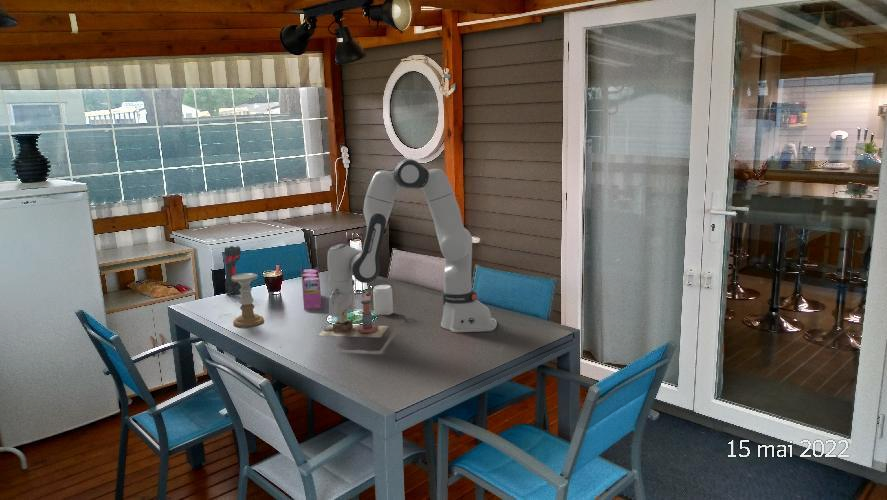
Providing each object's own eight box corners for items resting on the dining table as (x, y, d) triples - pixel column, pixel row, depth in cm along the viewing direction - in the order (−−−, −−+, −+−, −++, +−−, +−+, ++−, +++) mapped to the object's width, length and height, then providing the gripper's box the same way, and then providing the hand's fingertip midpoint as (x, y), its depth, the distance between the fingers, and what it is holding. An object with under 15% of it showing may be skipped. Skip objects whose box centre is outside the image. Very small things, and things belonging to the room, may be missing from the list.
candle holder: (269, 322, 269) (265, 275, 264) (243, 329, 260) (238, 281, 256) (254, 316, 277) (249, 270, 273) (227, 323, 268) (222, 276, 264)
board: (389, 328, 256) (388, 325, 255) (380, 340, 243) (380, 336, 243) (328, 327, 260) (328, 323, 259) (317, 338, 247) (317, 334, 247)
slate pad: (336, 327, 255) (336, 327, 255) (332, 331, 251) (332, 330, 251) (325, 327, 256) (325, 326, 256) (321, 331, 252) (321, 330, 251)
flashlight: (248, 292, 315) (243, 246, 310) (235, 296, 309) (230, 249, 304) (237, 290, 319) (232, 245, 314) (224, 294, 313) (219, 248, 308)
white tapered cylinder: (390, 317, 271) (388, 289, 268) (371, 316, 272) (370, 289, 270) (395, 311, 278) (394, 284, 276) (377, 310, 280) (376, 284, 277)
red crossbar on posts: (377, 332, 247) (375, 303, 245) (356, 333, 247) (354, 304, 244) (379, 320, 262) (378, 292, 259) (359, 321, 262) (358, 293, 259)
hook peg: (347, 328, 254) (345, 311, 253) (347, 330, 251) (346, 313, 250) (338, 329, 254) (337, 312, 252) (339, 331, 251) (338, 314, 249)
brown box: (352, 327, 255) (352, 320, 254) (348, 332, 249) (347, 325, 248) (338, 327, 256) (337, 320, 255) (333, 332, 250) (332, 324, 249)
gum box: (303, 295, 307) (301, 268, 304) (320, 294, 308) (318, 266, 306) (303, 310, 284) (301, 280, 281) (322, 308, 286) (319, 278, 283)
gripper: (339, 293, 238) (342, 328, 241) (355, 279, 258) (357, 312, 261) (323, 293, 239) (326, 328, 242) (340, 279, 259) (342, 311, 262)
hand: (342, 319), depth 252 cm, fingers closed on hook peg, 3 cm apart
